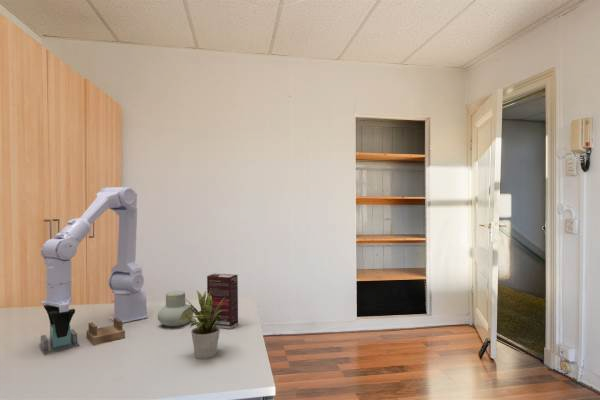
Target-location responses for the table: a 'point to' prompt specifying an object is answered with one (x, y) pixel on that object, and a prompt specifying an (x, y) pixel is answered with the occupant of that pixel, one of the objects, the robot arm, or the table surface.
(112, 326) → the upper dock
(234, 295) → the supplement box
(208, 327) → the house plant
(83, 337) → the table surface
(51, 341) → the plug
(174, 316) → the air freshener
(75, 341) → the lower dock
